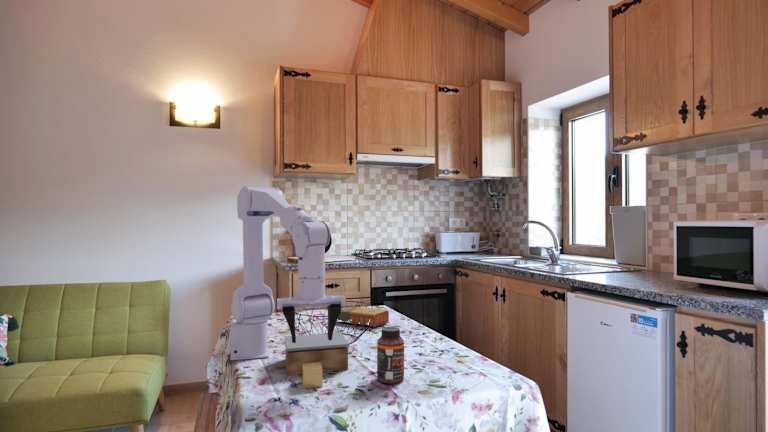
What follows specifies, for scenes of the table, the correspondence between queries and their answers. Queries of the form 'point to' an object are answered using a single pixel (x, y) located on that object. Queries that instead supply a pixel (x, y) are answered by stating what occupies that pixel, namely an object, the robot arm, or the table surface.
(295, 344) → the lid
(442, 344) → the table surface
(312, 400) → the table surface
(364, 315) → the carton
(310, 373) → the block
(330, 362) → the box
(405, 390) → the table surface
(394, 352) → the supplement bottle
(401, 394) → the table surface
